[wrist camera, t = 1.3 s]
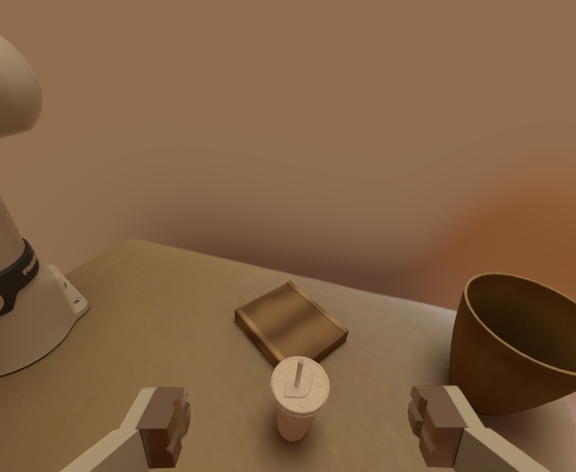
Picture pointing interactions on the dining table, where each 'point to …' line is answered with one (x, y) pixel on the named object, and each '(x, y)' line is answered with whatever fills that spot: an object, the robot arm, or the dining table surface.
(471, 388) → the plant pot
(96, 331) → the dining table surface
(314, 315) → the board
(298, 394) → the smoothie
